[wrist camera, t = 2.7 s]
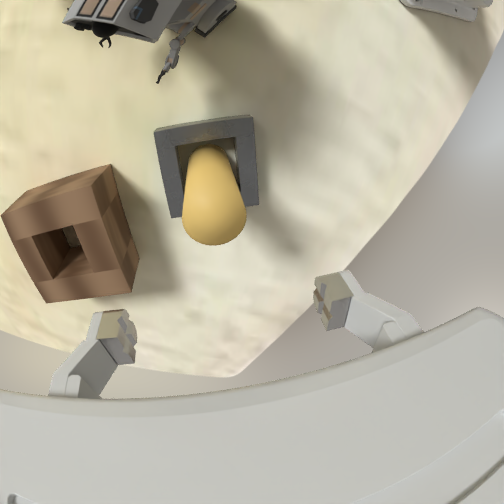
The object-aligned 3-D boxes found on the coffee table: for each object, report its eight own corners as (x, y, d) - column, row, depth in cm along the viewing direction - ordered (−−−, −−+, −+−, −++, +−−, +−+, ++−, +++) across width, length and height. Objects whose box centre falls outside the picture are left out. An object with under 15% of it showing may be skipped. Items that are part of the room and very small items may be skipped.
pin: (226, 141, 26) (243, 183, 16) (230, 178, 28) (248, 240, 18) (185, 147, 25) (176, 194, 16) (191, 184, 28) (188, 249, 18)
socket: (110, 163, 24) (91, 185, 20) (139, 258, 32) (131, 292, 27) (26, 191, 23) (0, 215, 18) (61, 271, 30) (46, 303, 25)
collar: (249, 114, 24) (253, 117, 23) (255, 196, 30) (258, 204, 28) (156, 128, 24) (153, 132, 22) (172, 209, 29) (171, 218, 27)
